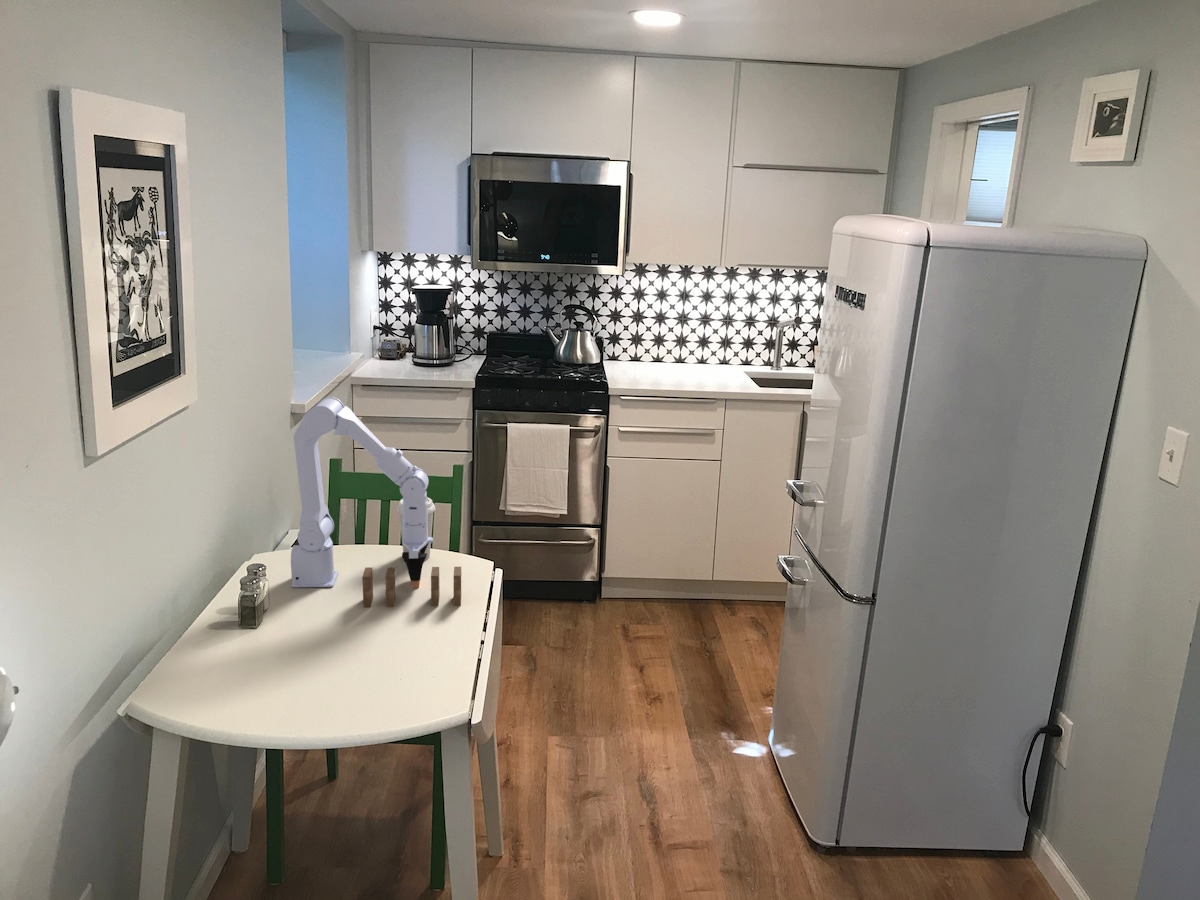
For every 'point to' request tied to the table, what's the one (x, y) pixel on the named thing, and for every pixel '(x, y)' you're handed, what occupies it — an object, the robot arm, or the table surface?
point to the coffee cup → (430, 519)
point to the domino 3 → (415, 583)
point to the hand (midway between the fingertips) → (416, 574)
